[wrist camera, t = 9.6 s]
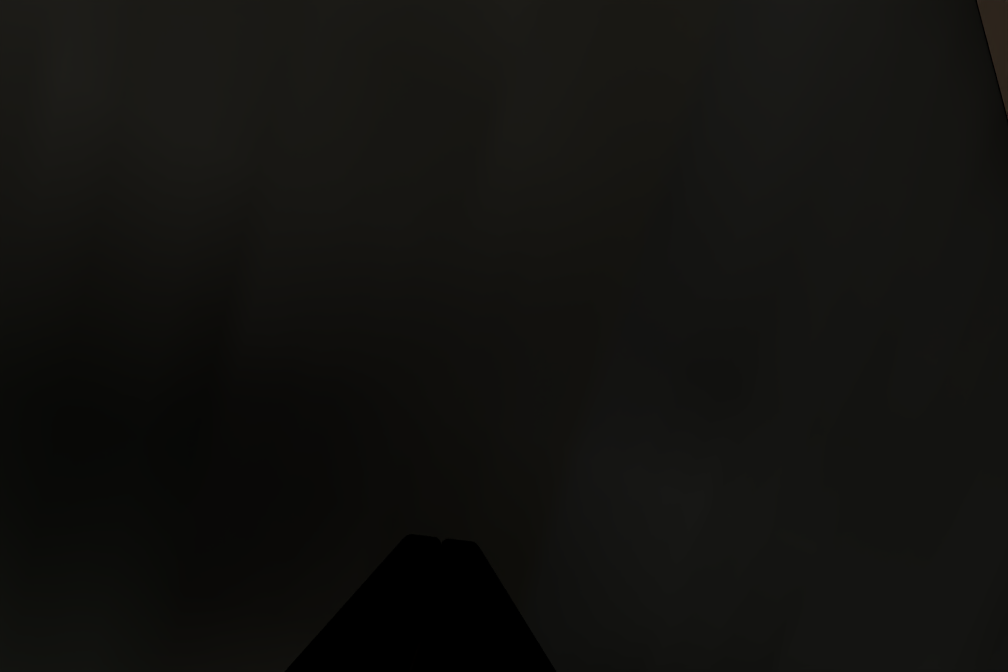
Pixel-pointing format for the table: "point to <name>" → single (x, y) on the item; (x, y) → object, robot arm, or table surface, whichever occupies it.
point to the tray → (997, 39)
